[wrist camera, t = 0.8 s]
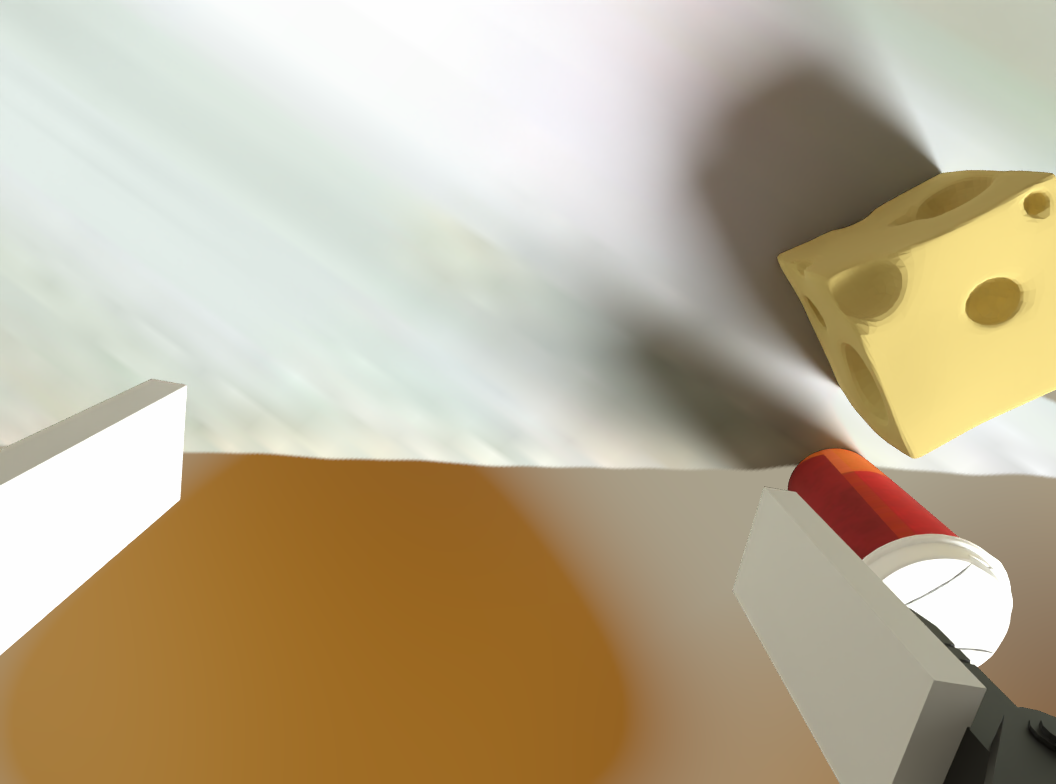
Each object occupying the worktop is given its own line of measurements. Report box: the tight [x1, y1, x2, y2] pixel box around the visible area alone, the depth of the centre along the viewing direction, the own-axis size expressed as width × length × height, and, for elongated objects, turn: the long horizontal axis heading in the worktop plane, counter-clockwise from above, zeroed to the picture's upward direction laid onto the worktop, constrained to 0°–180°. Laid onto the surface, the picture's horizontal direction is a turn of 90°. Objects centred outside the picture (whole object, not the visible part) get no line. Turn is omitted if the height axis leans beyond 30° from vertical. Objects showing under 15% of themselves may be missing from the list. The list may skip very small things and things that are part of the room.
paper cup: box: [788, 448, 1013, 667], centre depth 38 cm, size 8×8×14 cm
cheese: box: [777, 170, 1056, 458], centre depth 36 cm, size 10×11×10 cm
